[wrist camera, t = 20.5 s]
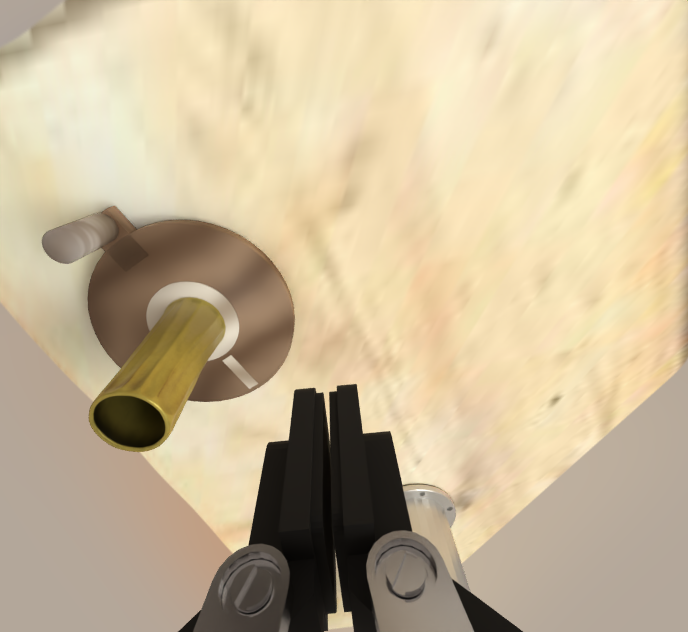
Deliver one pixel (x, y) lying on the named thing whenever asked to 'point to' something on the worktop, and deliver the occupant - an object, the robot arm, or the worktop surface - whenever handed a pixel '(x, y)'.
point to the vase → (158, 377)
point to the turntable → (183, 293)
